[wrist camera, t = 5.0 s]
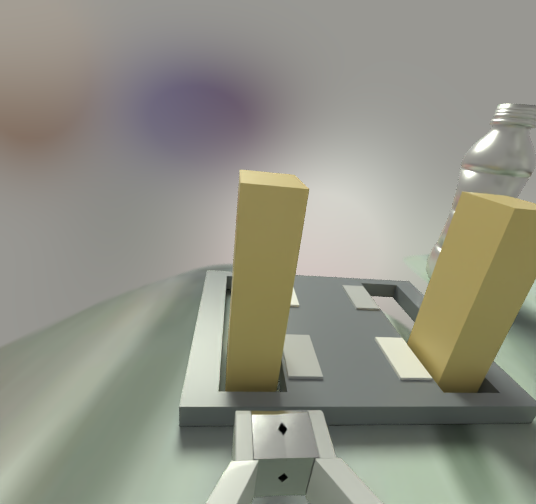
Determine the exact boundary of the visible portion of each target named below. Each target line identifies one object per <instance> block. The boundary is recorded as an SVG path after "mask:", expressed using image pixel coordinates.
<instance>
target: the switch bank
mask: <svg viewBox="0 0 536 504" xmlns="http://www.w3.org/2000/svg"><path fill="white" fill-rule="evenodd" d="M232 273H233V272H229V271H211V270H207V274H206V279H205V284H204V289H203V293H202V298H201V303H200V308H199V313H198V318H197V323H196V328H195V333H194V337H193V342H192V347H191V352H190V357H189V362H188V367H187V372H186V377H185V381H184V386H183V391H182V396H181V401H180V406H179V426H234V420H235V411H284V410H306V411H307V410H321V411H322V412H323V414H324V417H325V421H326V424H327V425H375V424H487V423H531V422H532V421H533V419H534V418H535V416H536V401H535V400H534V399H533V398H532V397H531V396H530V395H529V394H528V393H527V392H526V391H525V390H524V389H523V388H522V387H521V386H520V385H518V384H517V383H516V382H515V381H514V380H513V379H512V378H511V377H510V376H509V375H508V374H507V373H506V372H505V371H504V370H503V369H501V368H500V367H499V366H498V365H497V364H496V363H495V362H494V361H493V363H492V365H491V367H490V368H489V370H488V372H487V374H486V376H485V378H484V380H483V382H482V384H481V386H480V388H479V390H478V392H477V393H443V391H442V390H441V389H440V387H439V386H438V385H437V383H436V382H435V381H434V379H433V378H432V377H431V375H430V374H429V373H428V371H427V370H426V369H425V367H424V366H423V365H422V364H421V362H420V361H419V360H418V358H417V357H416V356H415V354H414V353H413V352H412V350H411V349H410V348H409V346H408V345H407V344H406V342H405V341H404V340H403V338H402V337H401V336H400V334H399V333H398V332H397V330H396V329H395V328H394V326H393V325H392V324H391V322H390V321H389V320H388V318H387V317H386V316H385V314H384V313H383V312H382V311H381V309H380V308H379V307H378V305H377V304H376V303H375V301H374V300H373V299H372V297H371V296H382V297H393V298H394V299H395V300H396V301H397V303H398V304H399V305H400V306H401V307H402V308H403V309H404V310H405V312H406V313H407V314H408V315H409V316H410V317H411V319H412V320H413V321H414V322H415V320H416V318H417V315H418V312H419V309H420V306H421V304H422V301H423V298H424V295H423V294H422V293H421V292H420V291H418V289H416V288H415V287H414V286H413V285H412V284H411V283H410V282H409V281H392V280H374V279H354V278H337V277H320V276H318V277H317V276H301V275H295V280H294V286H293V292H292V299H291V305H290V311H289V317H288V323H287V329H286V336H285V342H284V348H283V354H282V360H281V366H280V373H279V381H280V388H281V392H219V380H220V366H221V352H222V337H223V323H224V309H225V295H226V289H231V287H232Z"/></svg>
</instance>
